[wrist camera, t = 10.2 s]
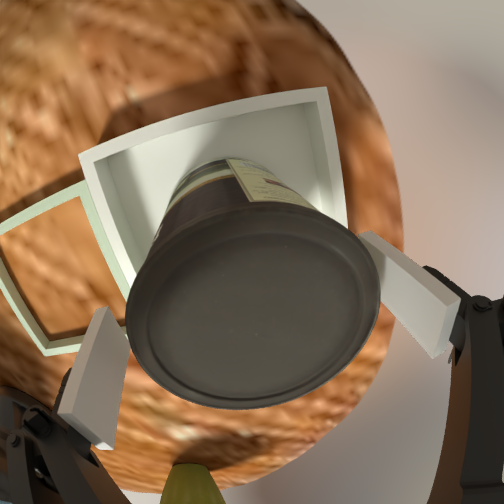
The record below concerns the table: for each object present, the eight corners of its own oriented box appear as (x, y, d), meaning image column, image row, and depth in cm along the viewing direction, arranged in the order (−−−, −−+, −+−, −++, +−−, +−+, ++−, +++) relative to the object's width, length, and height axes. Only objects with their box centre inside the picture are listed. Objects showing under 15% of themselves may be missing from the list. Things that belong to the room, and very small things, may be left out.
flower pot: (238, 461, 44) (251, 528, 30) (209, 481, 49) (217, 537, 34) (165, 450, 39) (168, 527, 25) (147, 471, 44) (148, 532, 29)
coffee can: (172, 277, 24) (156, 416, 12) (162, 159, 20) (96, 214, 7) (286, 271, 26) (350, 393, 13) (294, 157, 22) (407, 207, 9)
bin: (165, 324, 27) (162, 348, 24) (95, 149, 19) (77, 154, 16) (336, 277, 28) (351, 295, 25) (309, 91, 20) (326, 86, 17)
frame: (48, 348, 26) (44, 356, 25) (-16, 233, 19) (-23, 238, 18) (157, 326, 27) (155, 336, 26) (92, 176, 20) (85, 179, 19)
